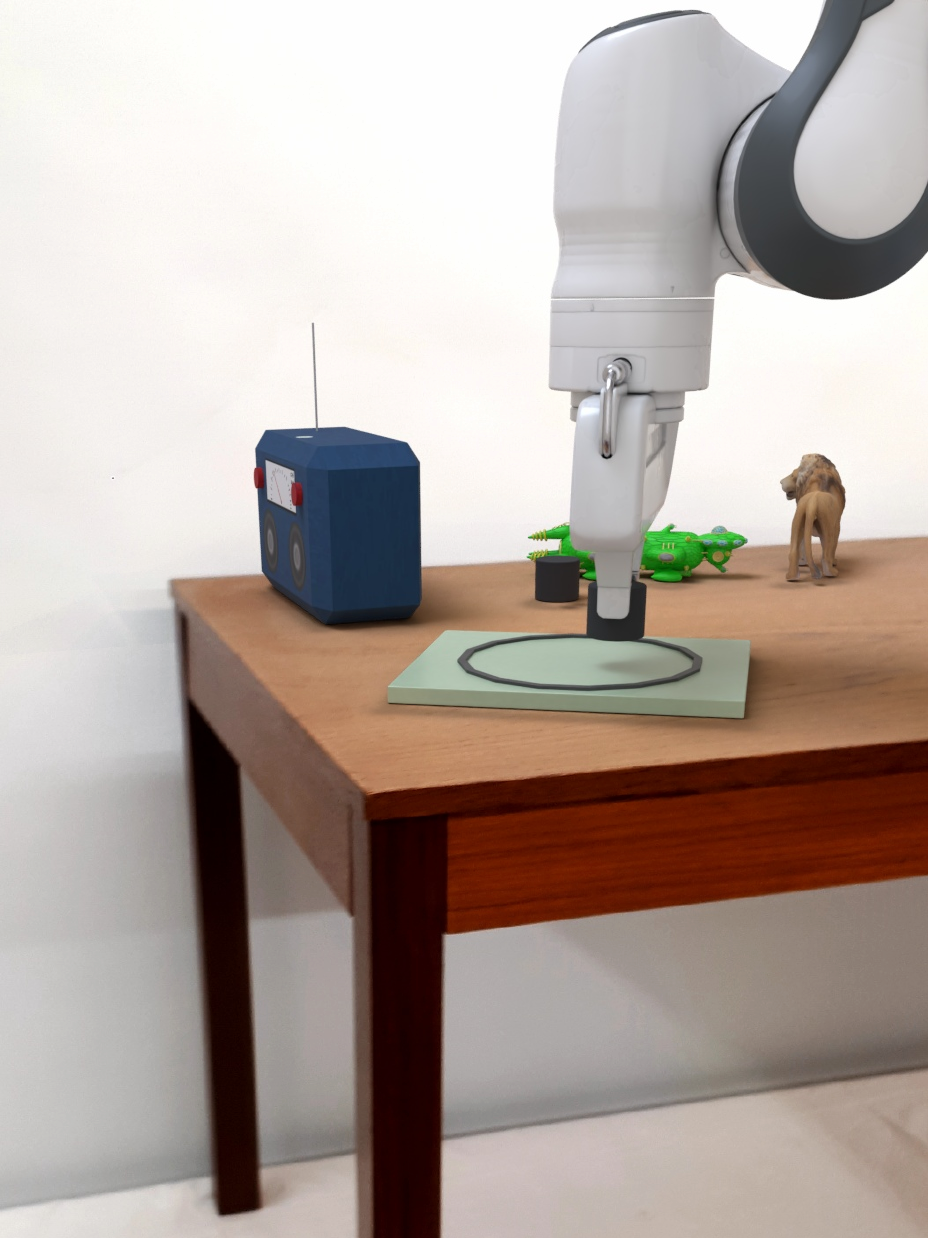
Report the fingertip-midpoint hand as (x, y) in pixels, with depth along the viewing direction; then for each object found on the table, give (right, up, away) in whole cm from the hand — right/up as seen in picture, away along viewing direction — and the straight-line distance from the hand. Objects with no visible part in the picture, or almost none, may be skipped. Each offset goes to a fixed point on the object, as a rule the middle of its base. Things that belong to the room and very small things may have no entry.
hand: (617, 608), depth 86 cm
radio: (-18, +6, +27) cm, 33 cm away
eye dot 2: (0, -1, +1) cm, 2 cm away
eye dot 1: (-1, +7, +28) cm, 28 cm away
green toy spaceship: (+6, +10, +36) cm, 38 cm away
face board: (-2, -4, +3) cm, 5 cm away
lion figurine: (+21, +11, +38) cm, 45 cm away
